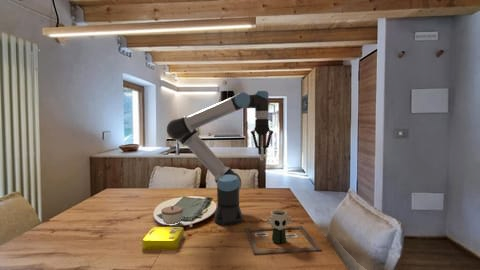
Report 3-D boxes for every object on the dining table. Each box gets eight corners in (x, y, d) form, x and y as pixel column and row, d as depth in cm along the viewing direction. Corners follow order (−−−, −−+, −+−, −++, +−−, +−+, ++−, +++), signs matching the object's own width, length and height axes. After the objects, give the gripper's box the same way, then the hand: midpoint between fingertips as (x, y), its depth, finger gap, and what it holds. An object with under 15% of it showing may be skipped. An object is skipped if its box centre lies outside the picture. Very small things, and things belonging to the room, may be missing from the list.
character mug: (268, 245, 118) (268, 215, 118) (265, 238, 125) (265, 210, 125) (293, 244, 119) (293, 214, 119) (288, 237, 127) (288, 209, 126)
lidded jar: (187, 223, 144) (186, 205, 143) (169, 229, 136) (168, 210, 135) (175, 218, 151) (175, 201, 150) (157, 224, 143) (157, 206, 143)
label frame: (253, 254, 110) (253, 253, 110) (245, 229, 135) (245, 228, 135) (321, 250, 113) (321, 249, 113) (301, 227, 138) (301, 225, 138)
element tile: (153, 235, 130) (152, 225, 130) (184, 235, 130) (184, 225, 130) (140, 250, 115) (140, 239, 115) (176, 250, 115) (176, 239, 115)
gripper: (251, 118, 152) (251, 161, 154) (274, 118, 154) (274, 160, 155) (249, 118, 160) (249, 159, 161) (271, 118, 161) (271, 159, 163)
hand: (261, 160), depth 158 cm, fingers closed
